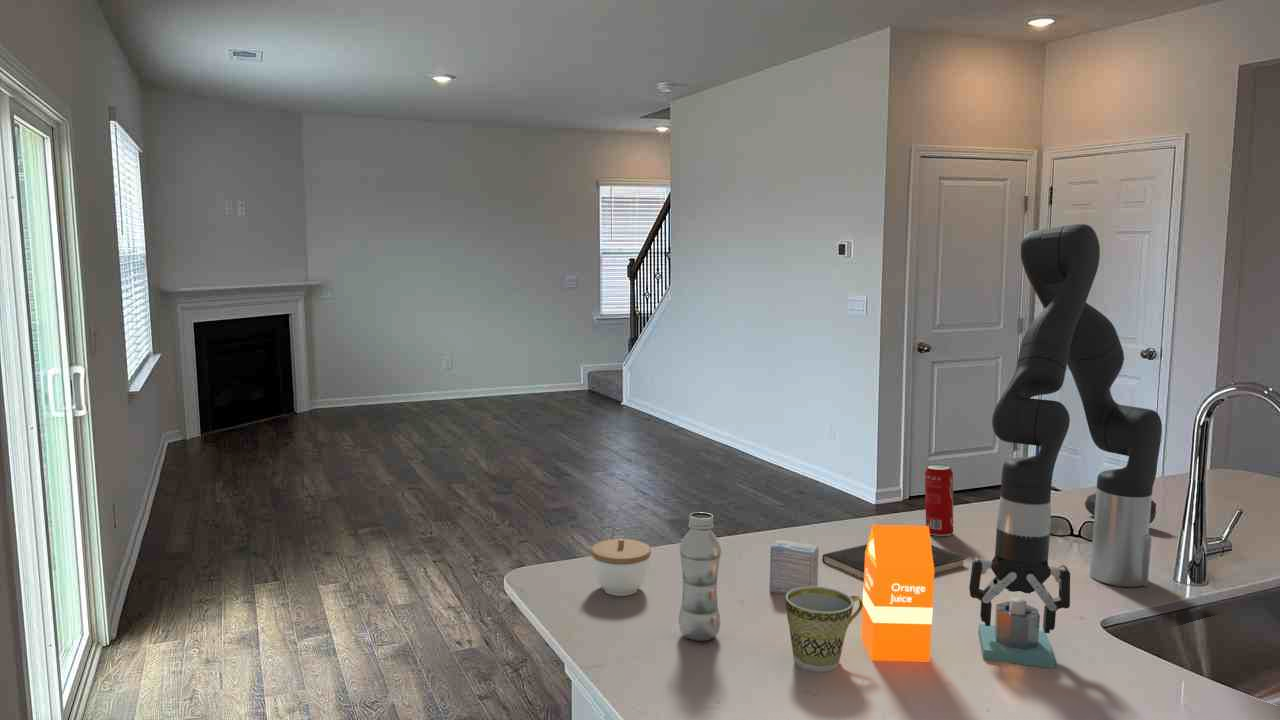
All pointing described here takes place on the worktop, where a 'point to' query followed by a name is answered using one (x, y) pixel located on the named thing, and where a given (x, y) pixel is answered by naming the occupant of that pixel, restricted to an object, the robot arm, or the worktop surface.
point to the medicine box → (793, 566)
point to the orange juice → (898, 593)
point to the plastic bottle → (700, 579)
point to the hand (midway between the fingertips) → (1016, 627)
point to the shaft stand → (1000, 652)
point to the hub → (1017, 627)
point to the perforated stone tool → (1092, 499)
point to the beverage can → (939, 499)
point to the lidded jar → (620, 565)
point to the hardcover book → (855, 559)
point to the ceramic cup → (819, 625)
